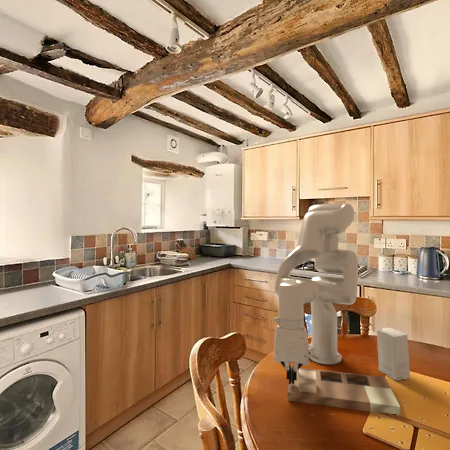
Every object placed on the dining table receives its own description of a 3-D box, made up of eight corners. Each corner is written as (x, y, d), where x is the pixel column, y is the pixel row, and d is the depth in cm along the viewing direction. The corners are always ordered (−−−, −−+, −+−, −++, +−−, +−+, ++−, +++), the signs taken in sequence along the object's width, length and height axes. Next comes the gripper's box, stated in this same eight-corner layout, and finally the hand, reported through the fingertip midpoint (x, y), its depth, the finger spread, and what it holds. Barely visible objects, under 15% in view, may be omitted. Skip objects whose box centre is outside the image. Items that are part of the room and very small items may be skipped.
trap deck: (287, 400, 89) (287, 392, 89) (290, 374, 104) (289, 366, 104) (400, 415, 81) (400, 406, 81) (384, 384, 97) (384, 377, 97)
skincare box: (410, 379, 100) (409, 335, 100) (395, 381, 98) (394, 336, 98) (391, 367, 108) (390, 326, 108) (376, 369, 107) (376, 328, 106)
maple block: (298, 391, 89) (298, 377, 89) (299, 382, 94) (299, 369, 94) (316, 393, 88) (316, 379, 88) (315, 384, 93) (315, 371, 93)
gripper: (265, 324, 90) (265, 385, 90) (316, 328, 86) (317, 391, 87) (268, 317, 98) (268, 373, 98) (316, 320, 94) (316, 378, 94)
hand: (291, 381), depth 92 cm, fingers closed
